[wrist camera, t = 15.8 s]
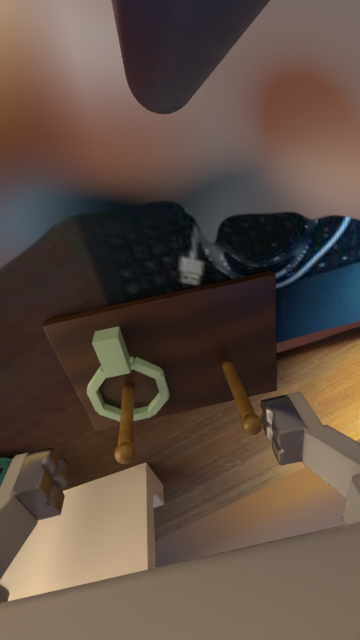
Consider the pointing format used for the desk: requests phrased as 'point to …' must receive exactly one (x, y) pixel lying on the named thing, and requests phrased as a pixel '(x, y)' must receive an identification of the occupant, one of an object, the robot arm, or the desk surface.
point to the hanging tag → (119, 363)
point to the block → (90, 535)
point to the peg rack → (178, 351)
